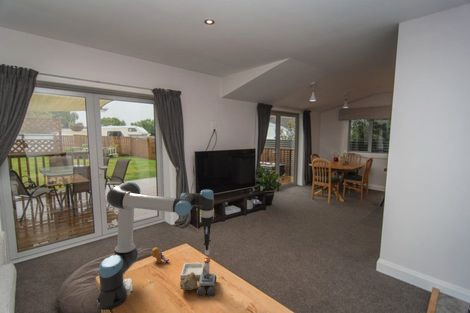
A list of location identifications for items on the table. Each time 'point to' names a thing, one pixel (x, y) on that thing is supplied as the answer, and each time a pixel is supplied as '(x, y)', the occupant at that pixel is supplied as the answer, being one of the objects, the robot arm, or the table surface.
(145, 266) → the table surface
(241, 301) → the table surface
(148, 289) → the table surface
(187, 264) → the tray
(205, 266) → the pin
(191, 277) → the rock
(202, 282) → the trolley
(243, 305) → the table surface
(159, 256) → the toy
